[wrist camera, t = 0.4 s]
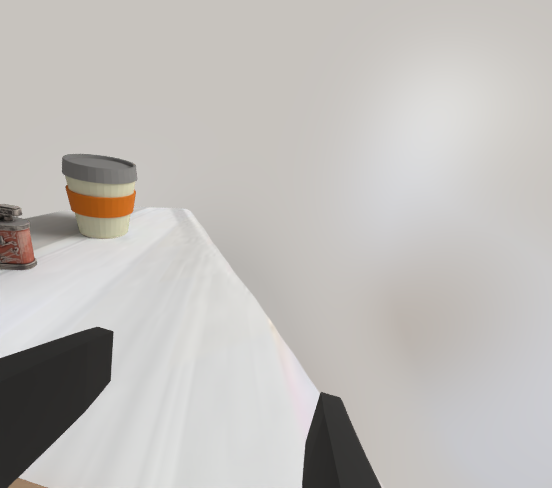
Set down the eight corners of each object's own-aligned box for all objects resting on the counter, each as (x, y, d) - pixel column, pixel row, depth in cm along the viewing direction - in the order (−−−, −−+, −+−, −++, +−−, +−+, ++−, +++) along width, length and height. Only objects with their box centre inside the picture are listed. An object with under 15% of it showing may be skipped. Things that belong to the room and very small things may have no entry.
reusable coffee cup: (117, 247, 51) (116, 173, 45) (52, 234, 50) (41, 156, 44) (146, 226, 63) (148, 165, 57) (93, 215, 62) (89, 151, 56)
